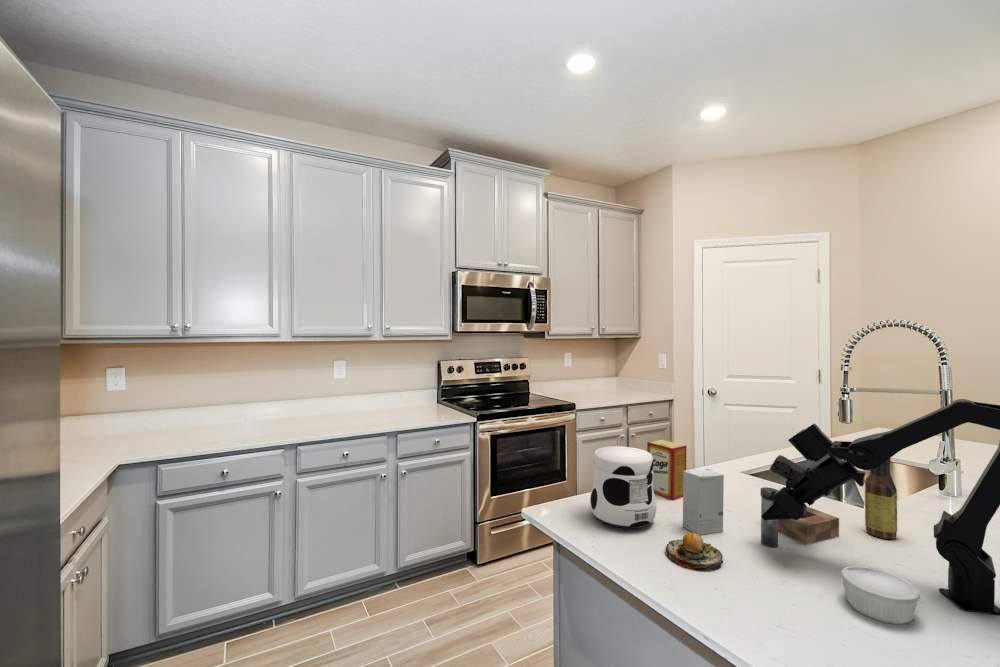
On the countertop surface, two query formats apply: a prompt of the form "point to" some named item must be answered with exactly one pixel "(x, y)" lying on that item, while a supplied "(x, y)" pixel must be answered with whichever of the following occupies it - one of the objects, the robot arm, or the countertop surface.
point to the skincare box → (703, 501)
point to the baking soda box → (668, 468)
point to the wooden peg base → (810, 527)
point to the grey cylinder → (768, 526)
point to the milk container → (623, 487)
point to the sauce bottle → (881, 503)
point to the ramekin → (880, 594)
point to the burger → (694, 553)
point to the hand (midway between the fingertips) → (767, 512)
